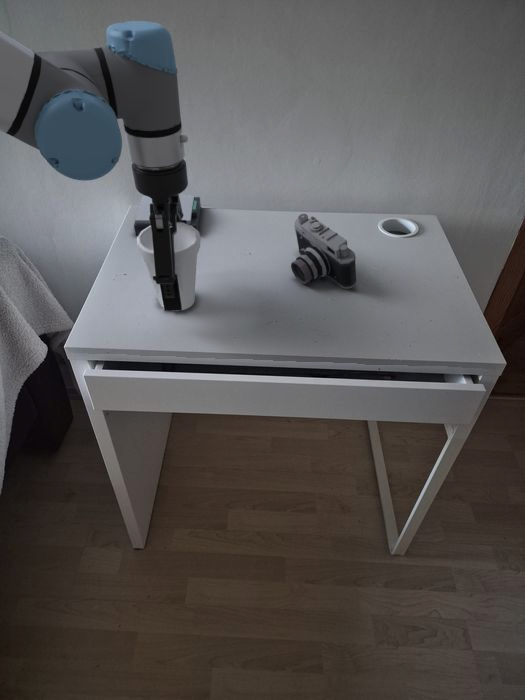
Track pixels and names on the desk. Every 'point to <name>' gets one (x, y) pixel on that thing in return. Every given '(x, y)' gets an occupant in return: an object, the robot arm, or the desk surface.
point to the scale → (188, 206)
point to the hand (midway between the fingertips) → (176, 284)
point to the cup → (184, 260)
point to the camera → (322, 254)
